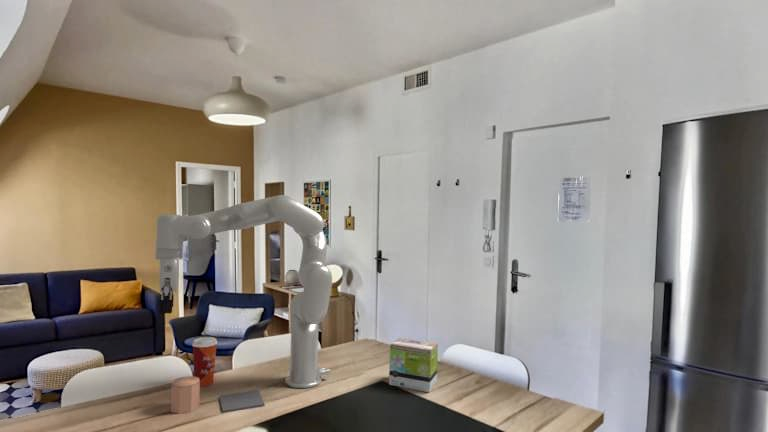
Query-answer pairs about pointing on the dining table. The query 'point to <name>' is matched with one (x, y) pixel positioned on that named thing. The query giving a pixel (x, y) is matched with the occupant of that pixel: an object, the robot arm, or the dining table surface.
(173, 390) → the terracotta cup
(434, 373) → the tea box
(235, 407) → the charcoal mat
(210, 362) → the coffee cup
